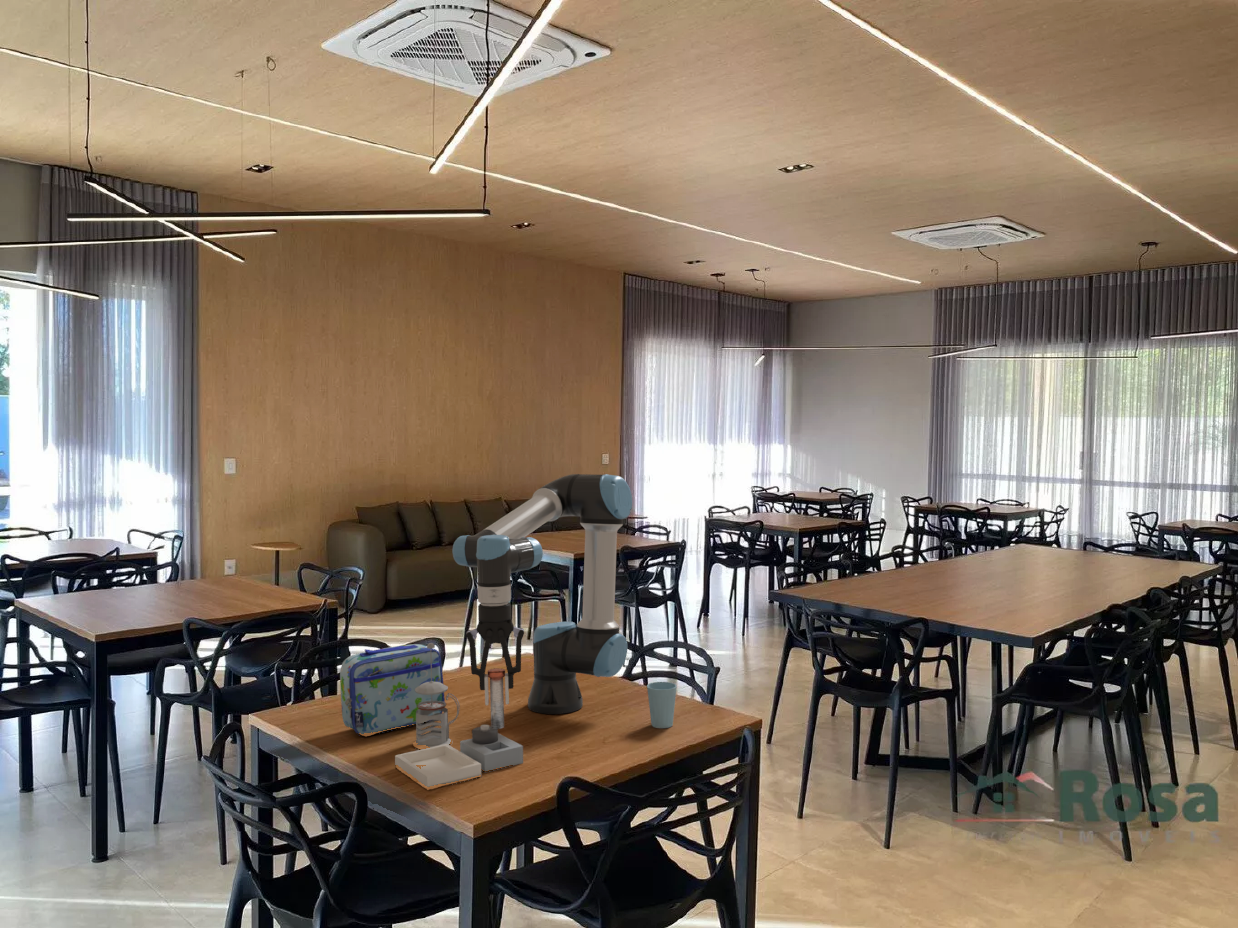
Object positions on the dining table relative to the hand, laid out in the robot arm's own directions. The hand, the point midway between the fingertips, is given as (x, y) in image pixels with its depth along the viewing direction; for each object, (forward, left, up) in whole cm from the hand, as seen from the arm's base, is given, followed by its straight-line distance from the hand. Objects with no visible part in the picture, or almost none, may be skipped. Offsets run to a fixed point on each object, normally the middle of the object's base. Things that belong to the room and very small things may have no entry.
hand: (497, 702), depth 222 cm
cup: (+2, +48, -14) cm, 50 cm away
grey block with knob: (-2, 0, -14) cm, 14 cm away
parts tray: (-3, -14, -14) cm, 20 cm away
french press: (-21, -5, -14) cm, 26 cm away
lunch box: (-40, -8, -14) cm, 44 cm away
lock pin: (0, 0, -6) cm, 6 cm away
